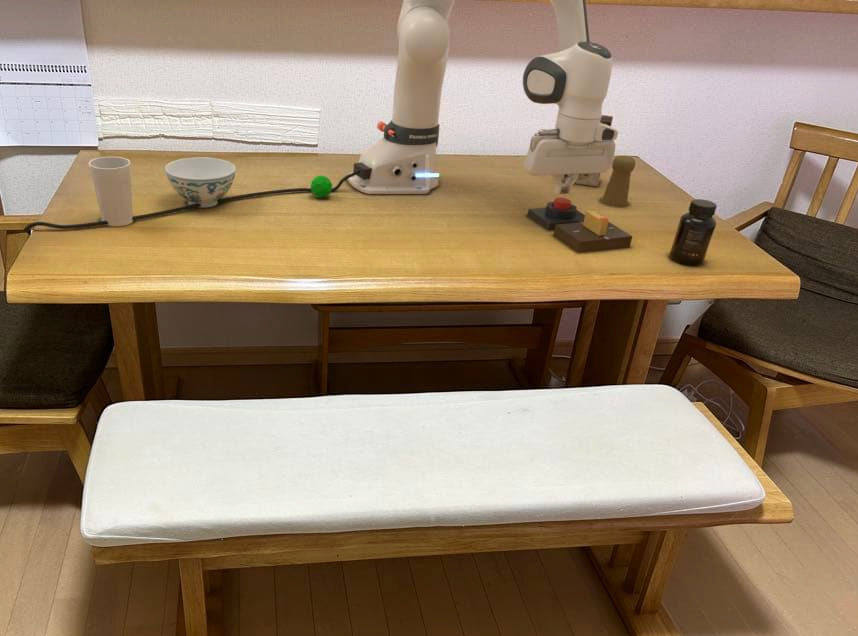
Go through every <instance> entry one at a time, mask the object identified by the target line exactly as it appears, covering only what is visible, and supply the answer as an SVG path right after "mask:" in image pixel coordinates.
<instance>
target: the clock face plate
mask: <svg viewBox="0 0 858 636" xmlns="http://www.w3.org/2000/svg"><path fill="white" fill-rule="evenodd" d="M553 237H554V238H556V239H557V240H559V241H560V242H562V243H563V244H564V245H566V246H567V247H569V248H570V249H571V250H573V251H575V252H576V253H578V254H581V253H588V252H589V253H590V252H598V251H608V250H617V249H618V250H619V249H625V248H627V249H628V248H630V247H631V243H632V240H633V235H631V234H630V233H628V232H626V231H625V230H623V229H622V228H620V227H618V226H617V225H615V224H614V223H612V222H610V221H609V222H608V226H607V230H606V234H605V235H601V236H599V235H597V234H596V233H594V232H592V231H591V230H589V229H588V228H586V227H585V226H583V222H582V221H579V223H569V224H558V225H555V230H553Z"/></svg>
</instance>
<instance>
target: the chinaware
mask: <svg viewBox="0 0 858 636" xmlns="http://www.w3.org/2000/svg"><path fill="white" fill-rule="evenodd" d="M236 169H237V168H236V165H235V164H233V163H232V162H230V161H228V160H224V159H220V158H217V157H201V156H200V157H199V156H198V157H185V158H179V159H176V160H173V161H171V162H169V163H167V164H166V165H165V167H164V171H165V175H166V177H167V180H168V181H169V184H170V186H171V187H172V188H173V190H174V191H175V192H176V193H177V194H178V195H179V196H180V197H182V198H183V199H184V200H186V202H187V204H188V205H193V204H201V206H200V207H199V208H201V209H202V208H204V209H205V208H211V207H215V206H217V205H218V204H219V203H217V200H219V199H222V198H224V196H226V194H227V193H228V192H229V191H230V189H231V187H232V185H233V183H234V180H235V178H236V177H235V176H236Z"/></svg>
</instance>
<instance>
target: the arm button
mask: <svg viewBox="0 0 858 636" xmlns="http://www.w3.org/2000/svg"><path fill="white" fill-rule="evenodd" d="M553 202H554V205H553V207H554V208H557V209H562V210H569V209H570V204H572V201H571V200H570V199H569V198H565V197H556V198H554V201H553Z"/></svg>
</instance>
